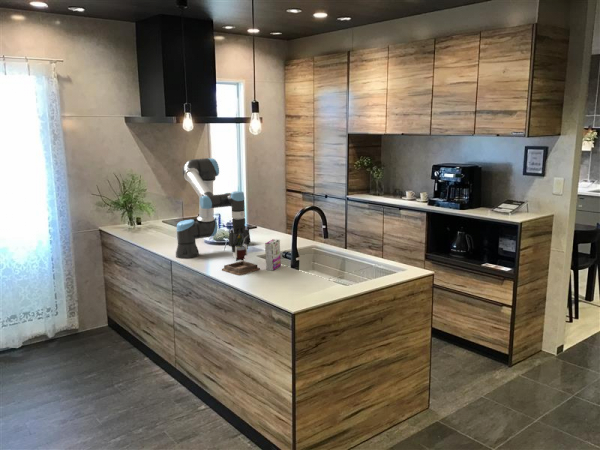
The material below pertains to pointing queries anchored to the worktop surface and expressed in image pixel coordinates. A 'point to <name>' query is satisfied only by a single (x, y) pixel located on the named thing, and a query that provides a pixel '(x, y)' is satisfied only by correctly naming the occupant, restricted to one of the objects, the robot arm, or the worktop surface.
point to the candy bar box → (272, 254)
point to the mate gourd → (241, 251)
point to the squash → (239, 239)
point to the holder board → (240, 268)
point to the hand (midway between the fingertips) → (240, 256)
